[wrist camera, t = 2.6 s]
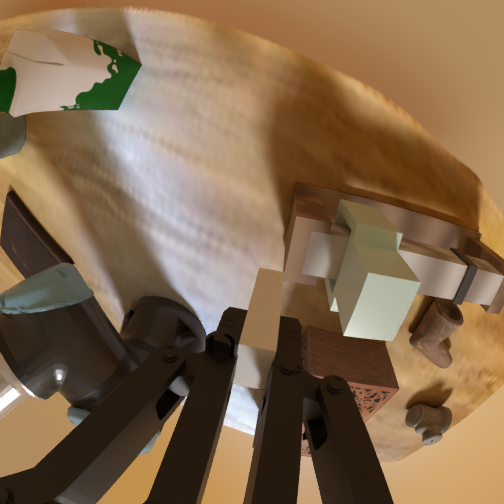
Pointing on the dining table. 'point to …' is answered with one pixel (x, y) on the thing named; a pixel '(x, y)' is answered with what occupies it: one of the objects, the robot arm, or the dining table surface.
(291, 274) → the rail
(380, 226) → the pale green slider block
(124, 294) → the dining table surface
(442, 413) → the pipe fitting
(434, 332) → the pipe
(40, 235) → the hardcover book
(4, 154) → the grey green cup
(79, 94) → the milk carton
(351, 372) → the tissue box cover
